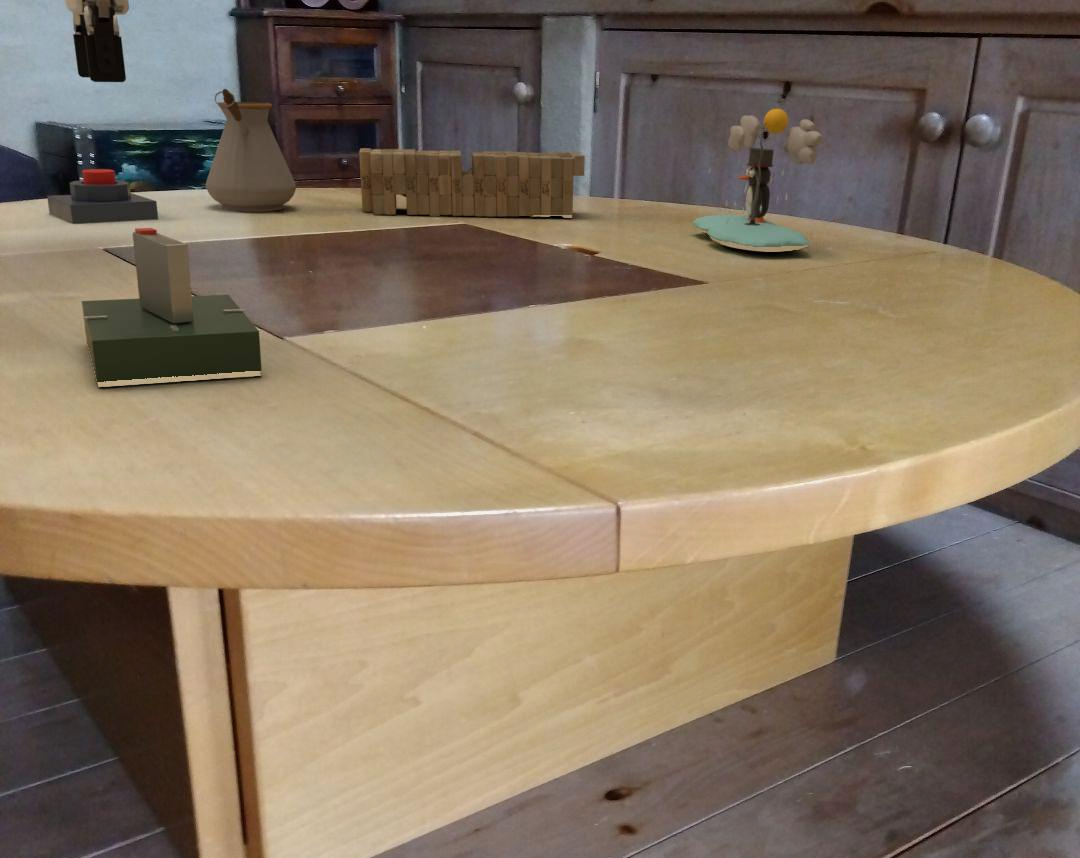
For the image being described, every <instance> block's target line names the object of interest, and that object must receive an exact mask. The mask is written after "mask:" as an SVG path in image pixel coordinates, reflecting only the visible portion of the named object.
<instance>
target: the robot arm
mask: <svg viewBox="0 0 1080 858" xmlns="http://www.w3.org/2000/svg"><path fill="white" fill-rule="evenodd" d="M64 2H65V6H66V9H67V10H68V11H70V12H71V13H72V23H73V25H72V26H73V32H74V33H72V37H73V44H74V53H75V59H76V68H77V75H78V76H79V77H81V78H89V79H90V81H91V82H93V83H124V82H125V81H126V80H127V75H126V68H125V67H126V66H125V58H124V49H123V41H122V36H120V27H119V21H118V16H124V15H126V14H127V13H128V12H129V11H130V4H129V0H64Z"/></svg>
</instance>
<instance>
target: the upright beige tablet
mask: <svg viewBox="0 0 1080 858" xmlns="http://www.w3.org/2000/svg"><path fill="white" fill-rule="evenodd" d="M132 242H133V251H134V260H135V261H134V262H135V269H136V270H135V271H136V280H137V289H138V297H139V298H138V299H140V307H141V308H143V309H145V310H147V311H149V312H151V313H153V314H155V315H157V316H159V317H161V318H163V319H165V320H167V321H169V322H171V323H173V324H180V323H189V322H194V317H193V305H192V296H193V295H192V284H191V272H190V261H189V248H188V244H187V243H185V242H182V241H179V240H177V239H175V238H172V237H169V236H166V235H164V234H161V233H158V230H157V229H155V228H153V227H142V228H134V231H133V232H132Z"/></svg>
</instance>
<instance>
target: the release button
mask: <svg viewBox="0 0 1080 858" xmlns="http://www.w3.org/2000/svg"><path fill="white" fill-rule="evenodd" d="M81 173H82V180H83V182H84V184H91V185H108V184H116V180H117V179H116V171H115V170H114V169H107V168H106V169H105V168H89V169H82V171H81Z"/></svg>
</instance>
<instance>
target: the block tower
mask: <svg viewBox="0 0 1080 858" xmlns="http://www.w3.org/2000/svg"><path fill="white" fill-rule="evenodd" d="M358 154H359V173H360V175H359V176H360V191H361V205H362V207H361V209H362V212H363V213H373V214H374V215H376V216H377V215H390V216H391V215H397V195H399V196H402V197H405V200H406V201H405V202H406V215H407V216H408V215H409V216H418V215H420V216H422V215H423V216H427V215H428V216H429V217H440V216H441V215H442V216H452V217H454V216H455V217H462V216H464V217H473V216H474V217H519V216H533V215H573V216H574V176H575V177H584V176H585V169H586V167H585V165H586V156H585V155H584V154H581V153H579V152H569V151H566V150H563V151H562V150H561V151H559V150H558V151H557V152H525V151H507V150H506V151H502V150H501V151H499V150H498V151H497V150H495V151H492V150H491V151H490V150H483V151H482V152H472V153H471V167H470V168H469V169H468V170H463V160H462V159H463V157H462V153H461V150H416V149H415V148H406V149H404V148H395V149H394V148H381V149H380V148H379V149H377V148H375V149H372V148H370V147H369V148H366V147H363V148H361V147H360V148H359V152H358Z"/></svg>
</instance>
